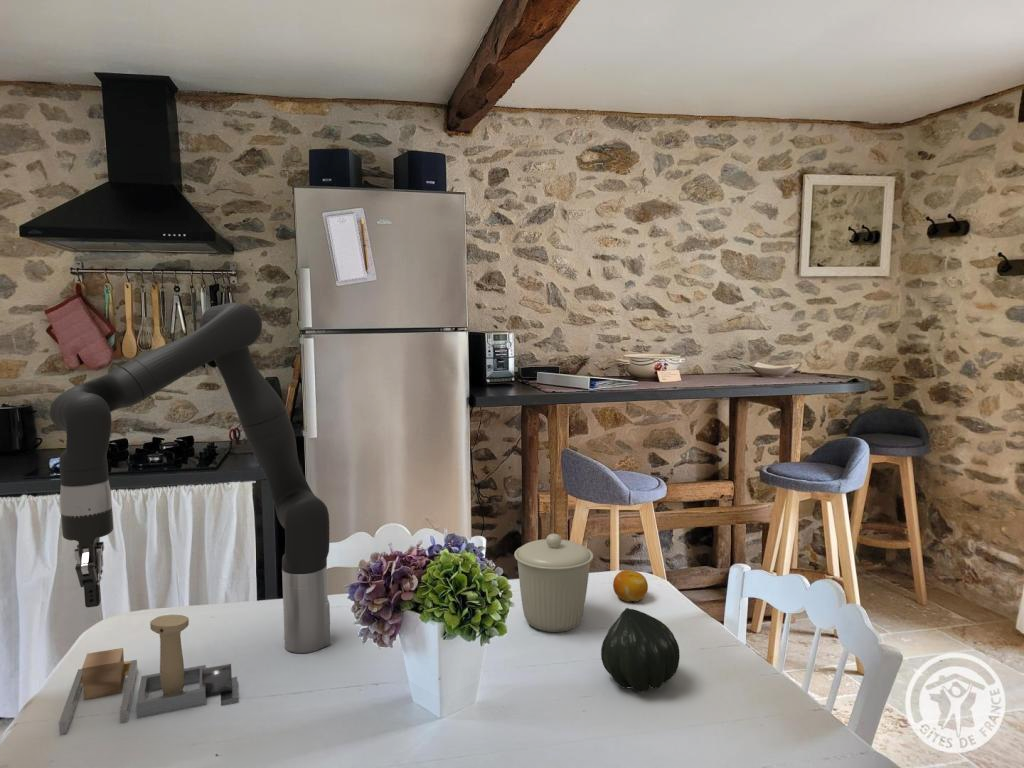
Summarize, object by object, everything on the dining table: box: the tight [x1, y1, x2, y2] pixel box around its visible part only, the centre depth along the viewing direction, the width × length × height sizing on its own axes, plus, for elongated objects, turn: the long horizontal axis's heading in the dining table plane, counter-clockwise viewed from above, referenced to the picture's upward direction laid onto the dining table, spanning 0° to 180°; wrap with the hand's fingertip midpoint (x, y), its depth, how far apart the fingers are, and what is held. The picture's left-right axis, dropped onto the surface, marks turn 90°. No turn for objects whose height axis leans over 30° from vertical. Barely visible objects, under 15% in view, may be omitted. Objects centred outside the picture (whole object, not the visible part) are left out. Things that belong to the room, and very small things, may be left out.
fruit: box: [612, 569, 649, 602], centre depth 179 cm, size 8×8×8 cm
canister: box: [514, 533, 594, 633], centre depth 164 cm, size 18×18×21 cm
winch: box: [136, 663, 240, 719], centre depth 132 cm, size 16×10×6 cm, turn 113°
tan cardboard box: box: [81, 647, 126, 700], centre depth 133 cm, size 6×6×6 cm
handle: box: [149, 614, 190, 696], centre depth 130 cm, size 5×6×15 cm
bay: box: [58, 659, 138, 736], centre depth 130 cm, size 10×19×4 cm, turn 23°
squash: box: [600, 607, 681, 693], centre depth 139 cm, size 14×15×15 cm
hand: (93, 605), depth 124 cm, fingers closed
